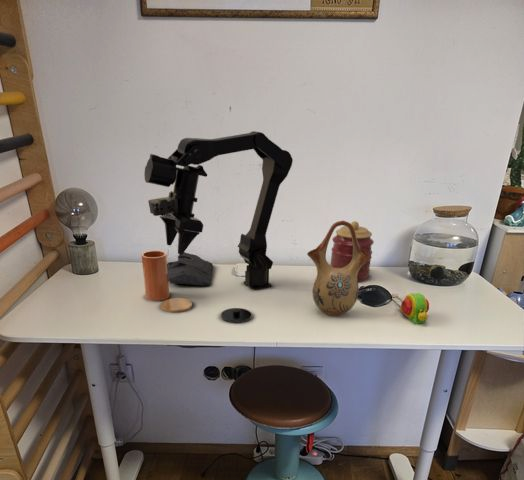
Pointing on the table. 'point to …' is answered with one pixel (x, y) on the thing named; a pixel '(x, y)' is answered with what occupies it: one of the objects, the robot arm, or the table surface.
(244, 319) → the lid
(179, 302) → the coaster
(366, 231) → the kitchen canister
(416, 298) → the toy measuring tape
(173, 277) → the dark slate chunk
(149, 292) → the pot
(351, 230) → the ceramic vessel
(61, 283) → the table surface
